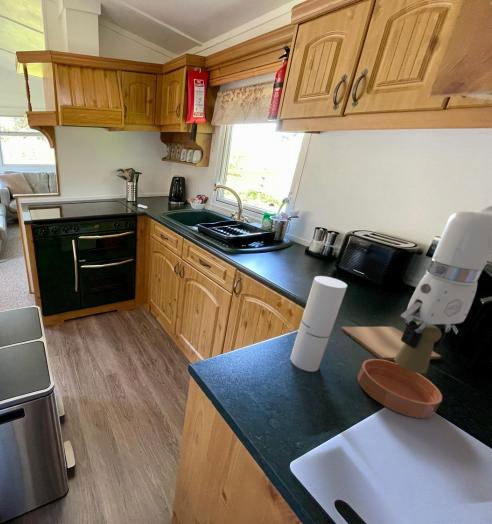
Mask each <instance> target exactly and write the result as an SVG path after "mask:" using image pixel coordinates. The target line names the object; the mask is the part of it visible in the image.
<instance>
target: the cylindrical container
mask: <svg viewBox="0 0 492 524" xmlns="http://www.w3.org/2000/svg"><path fill="white" fill-rule="evenodd" d="M311 284H312V285H311V287H310V292H309V295H308V297H307V301H306V304H305V307H304V311H303V314H302V317H301V320H300V324H299V327H298V330H297V333H296V337H295V340H294V343H293V347H292V351H291V354H290V357H289V361H290V362H291V363H292V364H293V365H294V366H295V367H297V368H298V369H300V370H303V371H306V372H317V371H318V370H319V368H320V366H321V362H322V360H323V357H324V354H325V351H326V348H327V345H328V342H329V340H330V337H331V333H332V331H333V328H334V325H335V322H336V320H337V318H338V314H339V311H340V308H341V305H342V303H343V299H344V297H345V294H346V291H347V288H348V284H347V283H346V282H344V281H342V280H340V279H338V278H334V277H331V276H326V275H325V276H324V275H317V276H314V277H313V280H312V283H311Z"/></svg>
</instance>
